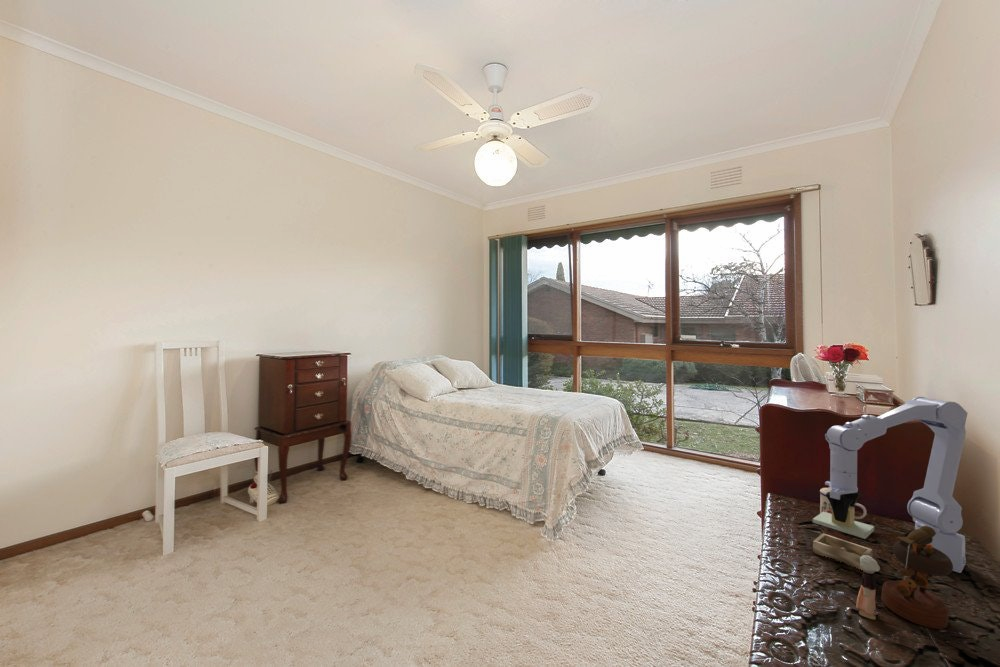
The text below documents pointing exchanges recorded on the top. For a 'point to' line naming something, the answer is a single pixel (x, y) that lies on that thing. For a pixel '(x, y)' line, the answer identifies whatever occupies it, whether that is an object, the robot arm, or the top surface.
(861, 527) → the lid
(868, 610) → the grandmother figurine
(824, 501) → the teacup with lid
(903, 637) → the top surface
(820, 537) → the box
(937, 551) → the music box
